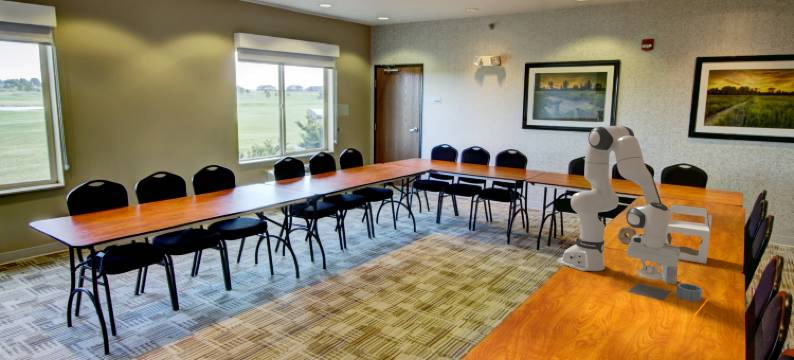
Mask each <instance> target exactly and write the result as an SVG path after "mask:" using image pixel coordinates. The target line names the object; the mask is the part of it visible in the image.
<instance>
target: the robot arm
mask: <svg viewBox="0 0 794 360" xmlns="http://www.w3.org/2000/svg"><path fill="white" fill-rule="evenodd" d="M586 147H587V148H586V151H585V156H584V157H585V158H584V175H583V177H584V180H586V181H587V182H589V184H590V187H591V190H582V191H578V192H576V193H574V194H573V195H572V196H571V198H570V206H571V209H572V210H573V211H575V213H576V214H577V216H578V218H579V222H580V223H579V224H580V231H579V233H580V234H579V236H578V237H576V239H575V240H574V243H575V244H574V245H572V246H570V247H569V248H567V249H565V250H564V252H563V255H562V257H560V258H558V259H557V263H558V264H560V265H563V266H565V267H568V266H569V267H570V268H572V269H575V270H579V271H582V272H587V271H588V272H589V271H591V272H600V271H603V270H605V269H606V268H605V262H604V251H605V240H604V239H605V230H606V229H605V228H606V226H605V224H604V223H603V222H602V221H601V220H600V218H599V214H598V213H603V212H610V211H612V210H614V209H616V208H617V207H618V206H619V203H620V202H619V201H620V200H619V196H618V194H617V192H616V191H614V189H613V188H612V186H611V183H610V179H609V177H610V175H609V173H610V155H611V153H612V151H613V152H614V154H615V161H616V167H617V171H618V173H619V175H620V176H621V177H622V178H624V179H625V180H628V181H629V182H633V183H634V184H637V186H639V188H640V189H641V191H642V194H643V196H644V197H643V198H644V200H645V203H646V204H645V205H639V206H633V207H630V208H629V209H628V210H627V212H626V215H625V216H626V217H625V219H626V222H627V224H628V225H629V227H631V228H633V229H642V230H643V233H640V234H639V233H636V235H634V236H633V237H632V238H631V241H632V242H630V243H629V244H627V245H628V246H627V250H626V255H627V256H628V257H630V258H634V259H638V260H640V263H641V265H642V269H643V270H647V266H648V264H646V262H651V263H655V264H656V267H654V268H653V272H654V273H657V272H659V269H660V268H661V267H662V265H666V266H670V267H676V266H677V267H678V265H679V260H680V259H679V257H678V256H679V255H680V248H679V247H680V246H677V245H675V244H672V243H671V244H667V243H666V237H667V233H666V230H667V227H668V223H669V212H670V211H669V210H670V209H669V207H668V206H666V204H663V202H662V201H661V197H660V194H659V191H658V188H657V186H656V182H655V179H654V177H653V175H652V173H651V172H650V171H649V169H648V168H647V166H646V163H645V160H644V156H643V152H642V148H641V146H640V143H639V140H638V139H637V138H636V136H635V134H634V130H632V128H629V127H627V126H626V125H625V126H624V125H621V126H619V125H610V126H609V125H607V126H598V127H594V128H593V129H591V131H589V134H588V144H587V146H586ZM569 267H568V268H569Z"/></svg>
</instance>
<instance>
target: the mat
mask: <svg viewBox="0 0 794 360" xmlns="http://www.w3.org/2000/svg"><path fill="white" fill-rule="evenodd" d="M627 292H628V293H631V294H635V295H640V296H643V297H647V298H650V299H655V300H657V301H658V300H660V301H664V299H666V298H667V297H668V296H669V295H670V294H671V293H672V290H669V289H663V288H659V287H655V286H652V285H651V286H650V285H647V284H644V283H643V284H642V283H636V284H635V285H634V286H633V287H632V288H630V289H629V290H628V291H627Z"/></svg>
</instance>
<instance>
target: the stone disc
mask: <svg viewBox="0 0 794 360" xmlns="http://www.w3.org/2000/svg"><path fill="white" fill-rule="evenodd" d="M627 234H628V235H627ZM636 234H637V231H636V229H635V228H633V227H631V226H623V227H620V229H619V231H618V234H617V239H618V240H619V241H620V243H623V244H626V245H629V243H630V242H632V241H631V238H632V237H633V236H634V235H636Z"/></svg>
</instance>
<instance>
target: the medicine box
mask: <svg viewBox="0 0 794 360" xmlns="http://www.w3.org/2000/svg"><path fill="white" fill-rule="evenodd" d="M678 268H679V267H678V265H677V266H676V267H670V266H666V265H661V272H660V273H661V274H662V275H663V276H662V279H661V280H662V281H664V283H665V284H671V285H672V284H673V285H677V281H678V279H677V278H678Z"/></svg>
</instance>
